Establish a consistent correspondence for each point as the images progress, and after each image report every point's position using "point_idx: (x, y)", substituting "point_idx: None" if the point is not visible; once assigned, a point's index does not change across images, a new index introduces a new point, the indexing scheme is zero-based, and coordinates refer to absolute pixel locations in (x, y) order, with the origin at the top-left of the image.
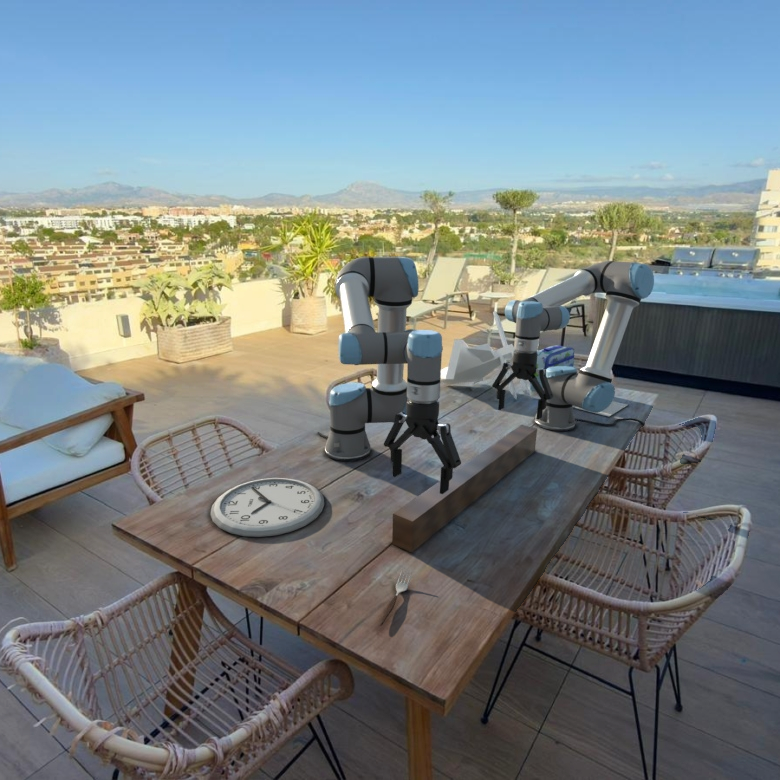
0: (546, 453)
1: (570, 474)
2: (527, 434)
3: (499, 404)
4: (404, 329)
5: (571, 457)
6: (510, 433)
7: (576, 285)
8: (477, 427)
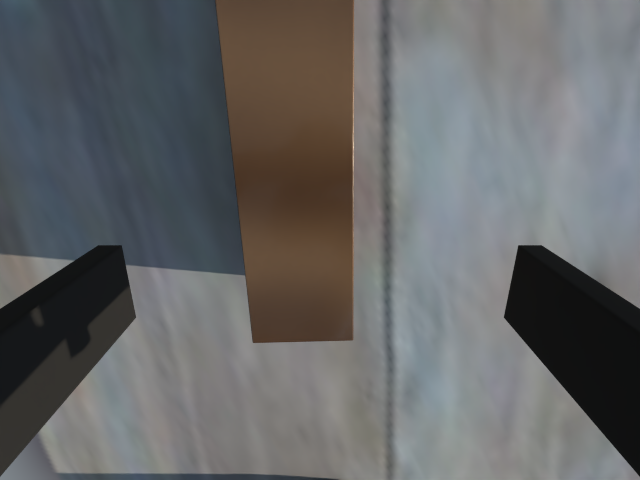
0: (221, 285)
1: (30, 149)
2: (247, 218)
3: (568, 271)
4: None
5: None
6: (343, 159)
7: None
8: None
